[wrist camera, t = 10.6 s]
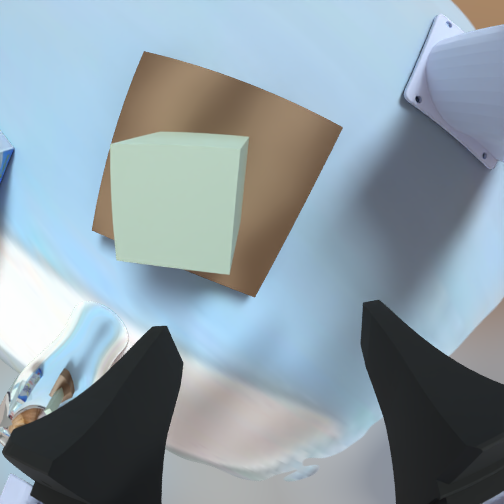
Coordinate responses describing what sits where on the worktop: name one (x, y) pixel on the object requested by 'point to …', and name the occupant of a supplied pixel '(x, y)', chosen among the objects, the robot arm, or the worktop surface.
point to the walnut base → (258, 157)
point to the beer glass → (64, 366)
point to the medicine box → (4, 153)
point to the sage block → (178, 199)
